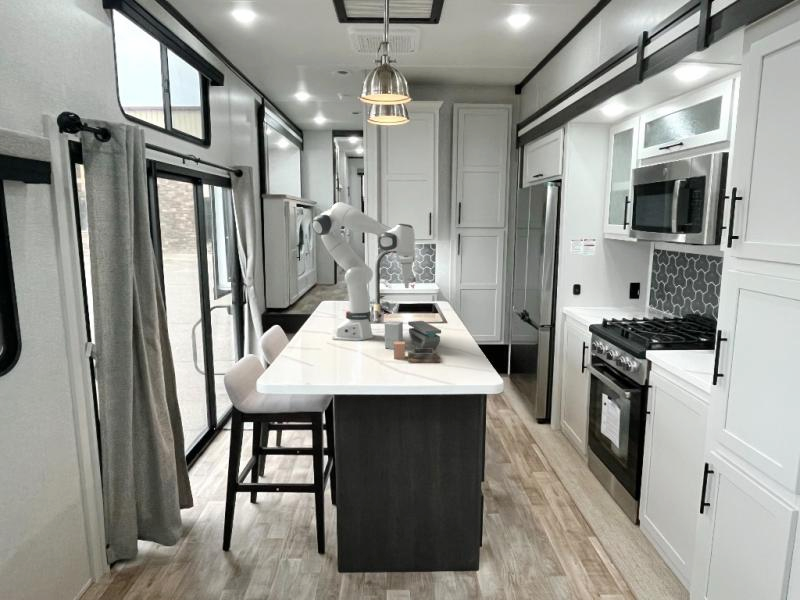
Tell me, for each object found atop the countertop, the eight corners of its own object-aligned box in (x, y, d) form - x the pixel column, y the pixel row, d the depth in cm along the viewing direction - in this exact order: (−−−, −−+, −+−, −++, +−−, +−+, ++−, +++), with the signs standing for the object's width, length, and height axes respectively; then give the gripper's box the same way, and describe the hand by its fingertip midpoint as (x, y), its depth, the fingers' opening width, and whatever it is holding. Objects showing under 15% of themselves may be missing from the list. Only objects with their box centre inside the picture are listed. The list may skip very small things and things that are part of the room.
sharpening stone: (440, 352, 238) (441, 330, 236) (425, 353, 235) (425, 331, 233) (422, 340, 261) (422, 320, 259) (408, 342, 259) (408, 321, 257)
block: (394, 359, 226) (394, 344, 225) (394, 356, 231) (394, 341, 230) (404, 359, 226) (405, 344, 225) (404, 356, 231) (404, 341, 230)
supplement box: (403, 346, 249) (403, 321, 248) (398, 349, 243) (398, 324, 241) (389, 345, 252) (389, 320, 250) (384, 348, 245) (384, 323, 243)
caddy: (408, 362, 219) (408, 354, 219) (408, 354, 233) (408, 347, 233) (439, 362, 219) (440, 354, 219) (437, 354, 233) (437, 347, 233)
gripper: (399, 257, 246) (400, 284, 248) (399, 259, 226) (400, 289, 228) (411, 256, 246) (412, 284, 248) (413, 259, 226) (413, 289, 228)
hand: (406, 286), depth 238 cm, fingers open, 8 cm apart
